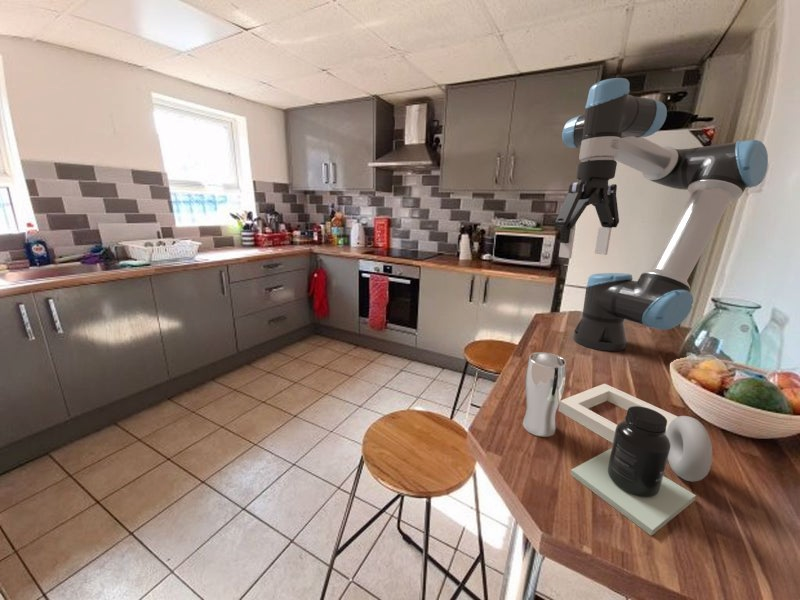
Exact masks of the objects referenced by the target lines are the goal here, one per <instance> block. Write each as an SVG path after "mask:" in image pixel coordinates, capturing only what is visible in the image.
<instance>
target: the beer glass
mask: <svg viewBox="0 0 800 600" xmlns="http://www.w3.org/2000/svg"><path fill="white" fill-rule="evenodd" d="M566 378H567V361H566V359H565V358H563V357H562V356H560V355H557V354H554V353H551V352H545V351H544V352H541V351H540V352H533V353H531V354H530V355H529V356H528V362H527V366H526V371H525V381H524V382H525V383H524V384H525V385H524V386H525V398H526V399H525V400H526V411H525V413H524V414H525V415H524V417H523V420H522V426H523V428H524V429H525V431H527V432H528V433H530V434H532V435H534V436H536V437H541V438H548V437H551V436H553V435H555V433H556V420H555V419H556V413H557V411H558V408H559V403H560V401H561V400H562V397H563V393H564V389H565V385H566Z"/></svg>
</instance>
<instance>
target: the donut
mask: <svg viewBox="0 0 800 600" xmlns="http://www.w3.org/2000/svg"><path fill="white" fill-rule="evenodd" d="M666 436H667V437H668V439H669V441H670V445H671V447H670V452H669V455H668V459H667V463H669V467H670V468H671V469H672V471H673V472H674V474H675V475H677V476H678V477H680V478H681V479H683V480H684V481H687V482H698V481H702V480H703V479H704V478H705V477H706V476H708V475H709V472H710V470H711V467H712V463H713V446H712V441H711V438H710V434H709V432H708V431H707V429H706V427H705V426H704V425H703V423H701V421H699V420H698V419H696V418H694V417H691V416H687V415H680V416H678V417H677V418H675V419H673V420H672V421H671V423H670V424H669V426H668V429H667V432H666Z"/></svg>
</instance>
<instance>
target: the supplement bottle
mask: <svg viewBox="0 0 800 600" xmlns="http://www.w3.org/2000/svg"><path fill="white" fill-rule="evenodd" d="M626 411H627V410H626ZM666 425H667V419H666V418H665V417H664V416H663V415H662V414H660V413H658V412H657V411H654V410H652V409H649V408H646V407H640V406H632V407H630V408H629V409H628V411H627V413H626V415H625V417H624V420H622V421H620V422H619V423H617V427H616V430H615V435H614V440H613V443H611V444H612V446H611V448H612V449H611V448H610V449H611V454H610V459H609V465H608V474H609V476H610V478H611V480H612V481H613V482H614V483H615V484H616V485H617V486H618V487H620V488H621V489H623V490H624V491H626V492H628V493H630V494H633V495H636V496H639V497H653V496H655V495H657V494H658V492H659V490H660V487H661V483H662V479H663V476H664V474H665V470H666V467H667V463H668V455H669V452H670V447H671V445H670V441H669V439H668V437H667V436H666V435H665V432H666Z"/></svg>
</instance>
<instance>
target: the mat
mask: <svg viewBox="0 0 800 600" xmlns="http://www.w3.org/2000/svg"><path fill="white" fill-rule="evenodd" d="M611 449H612V447H611V448H609V449H607V450H605V451H604V452H602V453H598V455H596V456H594V457H592V458H590V459H588V460H587V461H585V462H583V463H581V464H579V465H577V466H576V467H574V468H572V469H571V470H570V475H571V477H573V478H574V479H576V480H577V481H578V482H580V484H582V485H584V486H585V488H587V489H589V490H590V491H591V492H593V493H594V494H595V495H597V497H599V498H600V499H602V501H604V502H606V503H607V504H608V505H610V506H611V507H612V508H614V509H615V510H616V511H617V512H619V513H620V514H621V515H623V516H624V517H626V519H628V520H629V521H631V522H632V523H633V524H635V525H636V526H637V527H638V528H640V529H641V530H643V531H644V532H645V533H647V534H648V535H649V536H651V537H652V536H654V534H655V533H656V532H658V531H659V530H660V529H662V527H664V526H665V525H666V524H668V523H669V522H670V521H671V520H673V519H674V518H675V517H677V515H679V514H680V513H682V511H684V510H685V509H686V508H687V507H688V506H690V505H691V504H692V503H694V502H695V499H696V496H697V495H696V494H695V493H693V492H691V491H689V490H688V489H686V488H684V487H683V486H682V485H679V484H677V482H674V481H673V480H671V479H669V478H668V477H665V476H664V475H663V479H662V483H661V487H660V490H659V492H658V494H657V495H655V496H653V497H639V496H636V495H633V494H630V493H628V492H626V491H624V490H623V489H621V488H620V487H618V486H617V485H616V484H615V483H614V482H613V481H612V480H611V478H610V476H609V474H608V465H609V459H610V454H611Z"/></svg>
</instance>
